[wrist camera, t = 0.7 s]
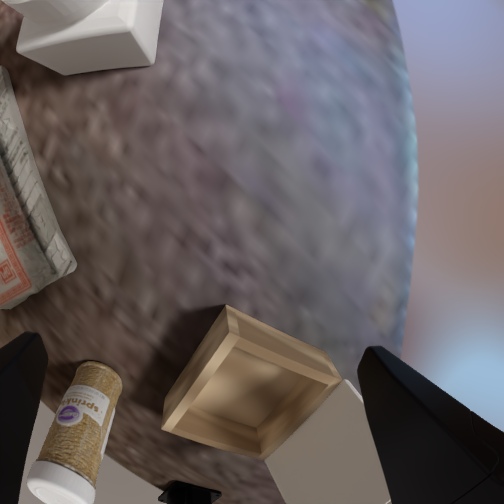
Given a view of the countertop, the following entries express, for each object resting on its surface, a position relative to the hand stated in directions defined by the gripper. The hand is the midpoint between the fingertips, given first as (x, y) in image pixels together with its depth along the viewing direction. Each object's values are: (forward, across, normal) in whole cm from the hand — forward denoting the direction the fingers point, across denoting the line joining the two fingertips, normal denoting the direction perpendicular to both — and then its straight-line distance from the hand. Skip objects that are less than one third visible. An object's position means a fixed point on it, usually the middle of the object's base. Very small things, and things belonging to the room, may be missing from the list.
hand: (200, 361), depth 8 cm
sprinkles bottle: (+12, +10, +16) cm, 23 cm away
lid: (+3, -9, +17) cm, 19 cm away
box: (+12, -4, +15) cm, 20 cm away
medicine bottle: (+17, +8, -12) cm, 23 cm away
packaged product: (+16, +18, 0) cm, 24 cm away
